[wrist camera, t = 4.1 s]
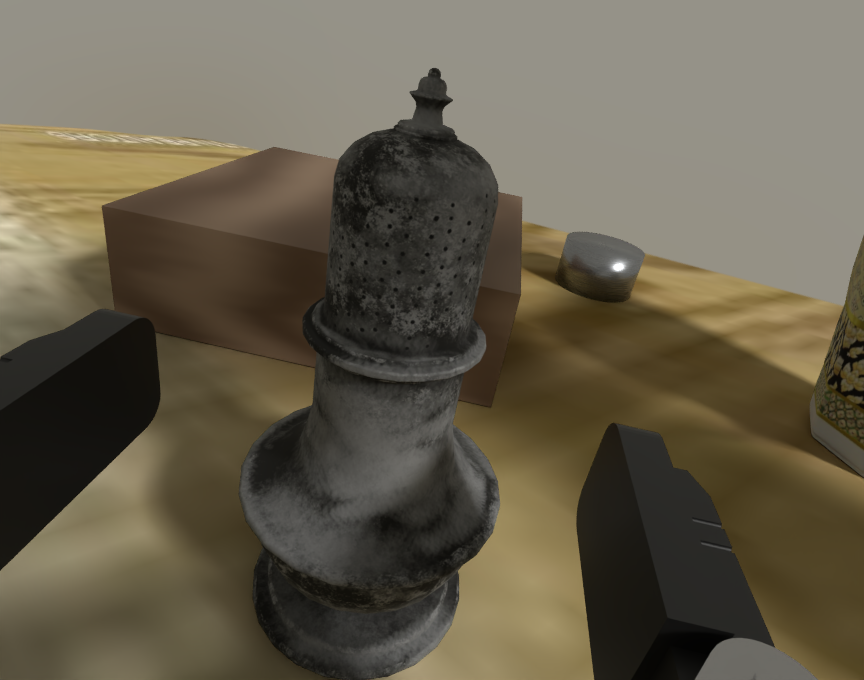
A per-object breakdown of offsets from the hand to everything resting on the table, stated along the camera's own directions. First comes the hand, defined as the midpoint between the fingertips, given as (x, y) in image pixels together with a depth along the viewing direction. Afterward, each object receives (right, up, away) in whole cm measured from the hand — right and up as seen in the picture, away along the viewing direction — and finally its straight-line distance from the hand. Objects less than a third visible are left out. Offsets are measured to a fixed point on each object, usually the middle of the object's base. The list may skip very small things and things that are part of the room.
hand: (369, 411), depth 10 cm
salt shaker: (-1, -5, +5) cm, 7 cm away
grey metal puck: (+12, +5, +27) cm, 30 cm away
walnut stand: (-3, +4, +20) cm, 21 cm away
